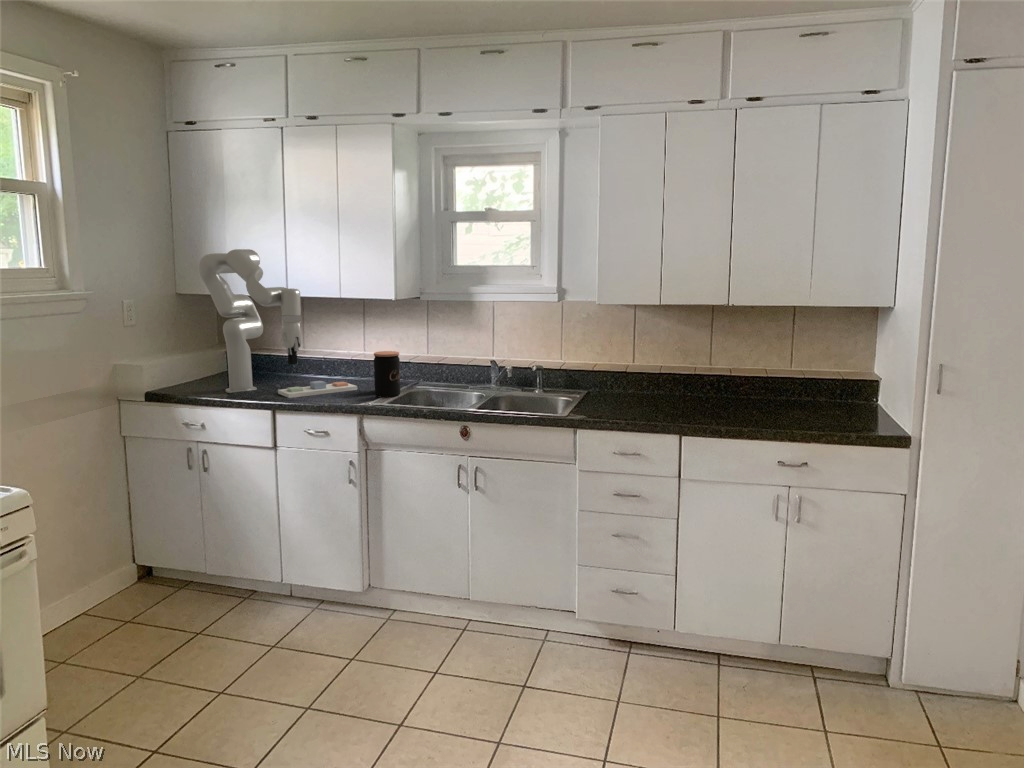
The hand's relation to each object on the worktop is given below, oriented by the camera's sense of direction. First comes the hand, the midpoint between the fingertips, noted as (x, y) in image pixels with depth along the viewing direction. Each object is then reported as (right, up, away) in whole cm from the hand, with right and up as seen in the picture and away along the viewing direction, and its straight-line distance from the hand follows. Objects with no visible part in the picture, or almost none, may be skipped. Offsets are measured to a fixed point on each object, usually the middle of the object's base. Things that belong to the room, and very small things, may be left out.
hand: (292, 363), depth 311 cm
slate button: (+8, -11, +8) cm, 16 cm away
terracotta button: (+16, -12, +14) cm, 25 cm away
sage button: (+1, -14, +2) cm, 14 cm away
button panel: (+8, -13, +8) cm, 17 cm away
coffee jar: (+38, -13, +8) cm, 41 cm away
